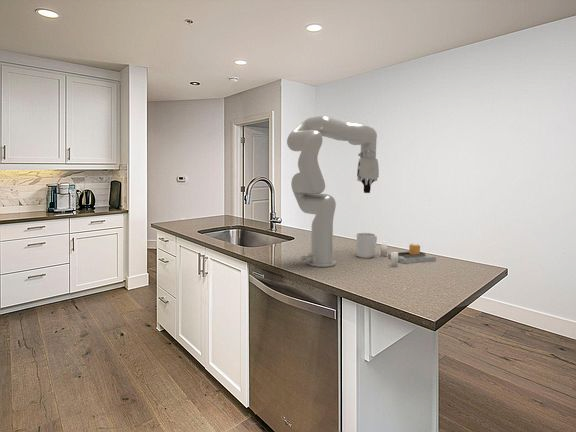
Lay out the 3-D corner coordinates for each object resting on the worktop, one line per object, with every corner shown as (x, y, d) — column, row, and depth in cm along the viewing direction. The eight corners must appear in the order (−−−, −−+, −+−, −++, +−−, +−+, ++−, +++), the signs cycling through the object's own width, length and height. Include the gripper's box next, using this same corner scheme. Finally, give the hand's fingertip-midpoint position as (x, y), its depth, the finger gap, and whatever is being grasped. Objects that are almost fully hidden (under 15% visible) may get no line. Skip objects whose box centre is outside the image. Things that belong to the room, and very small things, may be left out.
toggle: (414, 255, 173) (414, 244, 173) (409, 253, 177) (409, 243, 177) (419, 255, 174) (420, 244, 174) (414, 253, 178) (414, 242, 177)
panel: (402, 263, 167) (403, 256, 167) (388, 257, 179) (388, 251, 178) (435, 261, 173) (436, 254, 172) (419, 255, 184) (419, 249, 184)
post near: (393, 266, 162) (393, 253, 161) (389, 265, 164) (389, 252, 164) (398, 266, 162) (399, 253, 162) (395, 264, 165) (395, 251, 165)
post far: (382, 256, 180) (383, 244, 180) (379, 255, 183) (379, 243, 183) (387, 256, 181) (388, 244, 181) (384, 255, 184) (385, 243, 183)
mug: (365, 259, 175) (366, 236, 173) (352, 256, 182) (352, 234, 180) (382, 256, 182) (383, 234, 180) (368, 253, 189) (369, 231, 188)
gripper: (358, 155, 176) (357, 193, 179) (385, 156, 181) (383, 193, 183) (351, 156, 183) (350, 192, 186) (377, 156, 188) (376, 192, 190)
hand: (366, 192), depth 184 cm, fingers closed
